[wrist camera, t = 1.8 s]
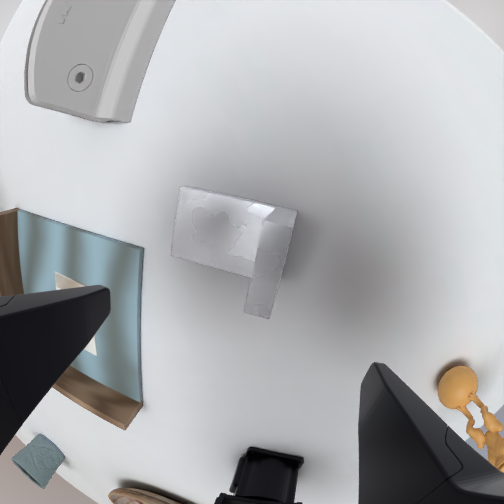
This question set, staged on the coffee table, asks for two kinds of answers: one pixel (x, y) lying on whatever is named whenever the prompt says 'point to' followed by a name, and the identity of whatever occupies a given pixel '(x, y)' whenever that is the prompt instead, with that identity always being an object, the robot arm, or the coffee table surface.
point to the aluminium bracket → (235, 240)
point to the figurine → (457, 397)
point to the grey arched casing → (92, 55)
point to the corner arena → (79, 275)
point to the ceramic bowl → (137, 497)
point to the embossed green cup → (39, 460)
